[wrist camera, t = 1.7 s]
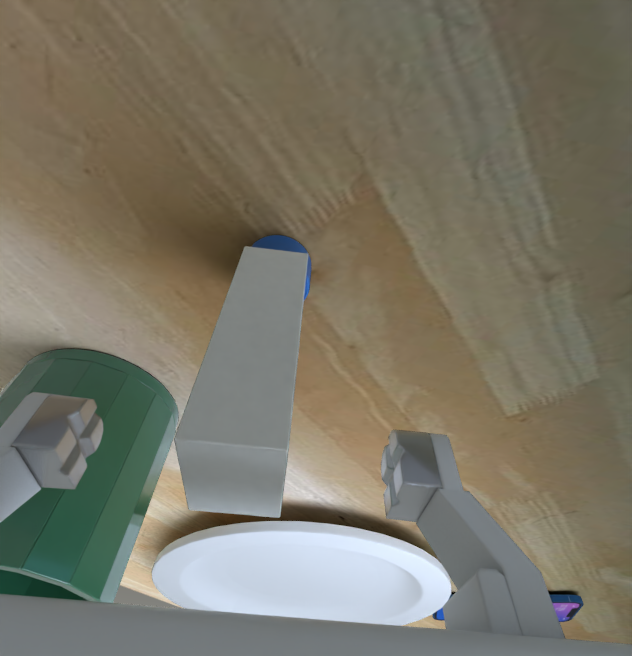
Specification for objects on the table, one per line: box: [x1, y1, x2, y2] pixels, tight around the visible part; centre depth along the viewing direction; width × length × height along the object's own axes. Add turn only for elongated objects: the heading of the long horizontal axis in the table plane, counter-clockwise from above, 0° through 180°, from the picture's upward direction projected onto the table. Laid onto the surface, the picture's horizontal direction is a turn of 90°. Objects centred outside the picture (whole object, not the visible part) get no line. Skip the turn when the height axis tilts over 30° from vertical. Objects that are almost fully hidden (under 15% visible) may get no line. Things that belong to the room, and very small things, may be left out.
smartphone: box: [433, 594, 583, 622], centre depth 43 cm, size 7×1×15 cm
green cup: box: [0, 349, 179, 603], centre depth 20 cm, size 9×9×10 cm
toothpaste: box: [174, 235, 311, 518], centre depth 13 cm, size 3×3×10 cm
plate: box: [152, 521, 451, 626], centre depth 38 cm, size 28×28×2 cm
